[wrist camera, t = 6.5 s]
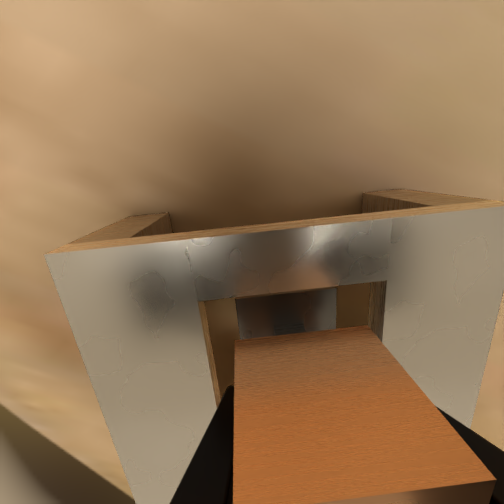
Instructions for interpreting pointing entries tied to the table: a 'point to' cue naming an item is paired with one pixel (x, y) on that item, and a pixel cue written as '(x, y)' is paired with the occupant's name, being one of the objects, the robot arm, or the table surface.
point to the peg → (336, 415)
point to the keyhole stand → (264, 282)
